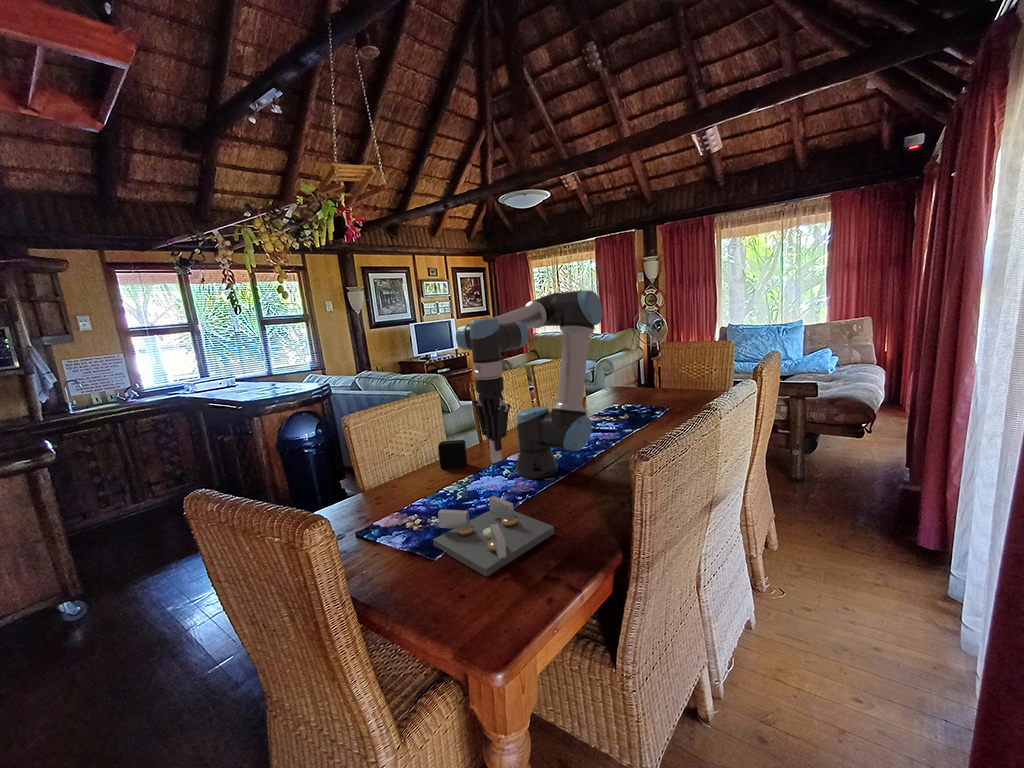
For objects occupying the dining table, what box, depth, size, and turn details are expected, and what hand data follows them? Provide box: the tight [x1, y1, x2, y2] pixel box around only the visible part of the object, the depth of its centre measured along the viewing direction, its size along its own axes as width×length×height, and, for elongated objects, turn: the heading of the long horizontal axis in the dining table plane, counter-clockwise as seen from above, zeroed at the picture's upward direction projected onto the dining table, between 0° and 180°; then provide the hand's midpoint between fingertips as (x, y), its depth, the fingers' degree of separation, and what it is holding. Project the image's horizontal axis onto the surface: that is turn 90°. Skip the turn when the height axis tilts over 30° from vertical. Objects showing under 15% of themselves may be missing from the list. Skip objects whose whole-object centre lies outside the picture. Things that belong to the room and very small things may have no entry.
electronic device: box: [437, 439, 468, 470], centre depth 173 cm, size 4×10×10 cm, turn 89°
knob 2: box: [488, 495, 518, 527], centre depth 122 cm, size 9×4×6 cm, turn 43°
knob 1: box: [437, 509, 474, 536], centre depth 118 cm, size 9×4×6 cm, turn 74°
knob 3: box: [487, 524, 507, 559], centre depth 107 cm, size 9×4×6 cm, turn 14°
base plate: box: [432, 510, 555, 578], centre depth 117 cm, size 24×21×3 cm
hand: (496, 460), depth 123 cm, fingers closed
